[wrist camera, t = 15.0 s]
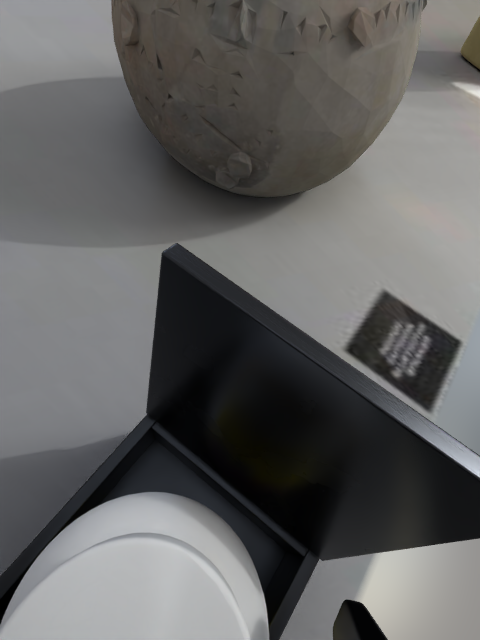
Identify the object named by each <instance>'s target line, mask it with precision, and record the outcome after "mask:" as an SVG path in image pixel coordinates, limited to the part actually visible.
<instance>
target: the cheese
mask: <svg viewBox="0 0 480 640" xmlns="http://www.w3.org/2000/svg"><path fill="white" fill-rule="evenodd" d="M461 54H462V56H463V57H464V58H466V59H467V60H468V61H469V62H470V63H472V64H473V65H474V66H476V67H477V68H478V69H480V16H479V18H478V20H477V22H476V23H475V25H474V27H473V29H472V31H471V32H470V34H469V36H468V38H467V39H466V41H465V43H464V45H463V46H462V49H461Z"/></svg>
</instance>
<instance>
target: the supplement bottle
mask: <svg viewBox="0 0 480 640" xmlns="http://www.w3.org/2000/svg"><path fill="white" fill-rule="evenodd" d="M0 640H269V628H268V617H267V609H266V603H265V598H264V594H263V590H262V587H261V583H260V580H259V577H258V574H257V571H256V569H255V566H254V564H253V561H252V559H251V557H250V555H249V553H248V551H247V550H246V548H245V546H244V544H243V543H242V541H241V540H240V538H239V537H238V536H237V534H236V533H235V532H234V531H233V529H232V528H231V527H230V526H229V525H228V524H227V523H226V522H225V521H224V520H223V519H222V518H221V517H220V516H218V515H217V514H216V513H215V512H213V511H212V510H210V509H209V508H207V507H206V506H204V505H202V504H200V503H199V502H197V501H194V500H192V499H189V498H187V497H184V496H180V495H176V494H171V493H165V492H144V493H136V494H130V495H126V496H122V497H119V498H116V499H113V500H110V501H107V502H105V503H103V504H101V505H99V506H97V507H95V508H93V509H91V510H90V511H88V512H87V513H85V514H83V515H82V516H80V517H79V518H77V519H76V520H75V521H73V522H72V523H71V524H69V525H68V526H67V527H66V528H65V529H64V530H63V531H61V532H60V533H59V534H58V535H57V536H56V537H55V538H54V539H53V540H52V541H51V542H50V543H49V544H48V545H47V547H46V548H45V549H44V550H43V551H42V552H41V554H40V555H39V556H38V557H37V559H36V560H35V561H34V563H33V564H32V565H31V567H30V568H29V570H28V571H27V572H26V574H25V576H24V577H23V579H22V581H21V582H20V584H19V586H18V587H17V589H16V591H15V593H14V595H13V597H12V599H11V601H10V603H9V605H8V607H7V610H6V612H5V614H4V617H3V619H2V622H1V624H0Z"/></svg>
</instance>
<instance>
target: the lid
mask: <svg viewBox="0 0 480 640" xmlns="http://www.w3.org/2000/svg"><path fill="white" fill-rule="evenodd" d="M146 413H147V414H148V415H149V416H150V417H152V418H153V419H154V420H155V421H156V422H158V423H159V424H160V425H161V426H162V427H164V428H165V429H166V430H167V431H168V432H169V433H171V434H172V435H173V436H174V437H175V438H177V439H178V440H179V441H180V442H181V443H183V444H184V445H185V446H186V447H187V448H189V449H190V450H191V451H192V452H193V453H194V454H196V455H197V456H198V457H199V458H200V459H202V460H203V461H204V462H205V463H206V464H208V465H209V466H210V467H211V468H212V469H214V470H215V471H216V472H217V473H218V474H219V475H221V476H222V477H223V478H224V479H225V480H227V481H228V482H229V483H230V484H231V485H233V486H234V487H235V488H236V489H237V490H239V491H240V492H241V493H242V494H243V495H244V496H246V497H247V498H248V499H249V500H250V501H252V502H253V503H254V504H255V505H256V506H258V507H259V508H260V509H261V510H262V511H264V512H265V513H266V514H267V515H268V516H269V517H271V518H272V519H273V520H274V521H275V522H277V523H278V524H279V525H280V526H281V527H283V528H284V529H285V530H286V531H287V532H289V533H290V534H291V535H292V536H293V537H294V538H296V539H297V540H298V541H299V542H300V543H302V544H303V545H304V546H305V547H306V548H308V549H309V550H310V551H311V552H312V553H314V554H315V555H316V556H317V557H318V558H319V559H321V560H322V561H324V560H331V559H338V558H345V557H352V556H359V555H366V554H373V553H380V552H387V551H394V550H401V549H408V548H415V547H422V546H429V545H435V544H443V543H450V542H457V541H464V540H471V539H478V538H480V456H479V455H478V454H476V453H475V452H474V451H472V450H471V449H469V448H468V447H467V446H465V445H464V444H462V443H461V442H459V441H458V440H457V439H455V438H454V437H452V436H451V435H449V434H448V433H447V432H445V431H444V430H442V429H441V428H440V427H438V426H437V425H435V424H434V423H432V422H431V421H430V420H428V419H427V418H425V417H424V416H422V415H421V414H420V413H418V412H417V411H415V410H414V409H413V408H411V407H410V406H408V405H407V404H405V403H404V402H403V401H401V400H400V399H398V398H397V397H395V396H394V395H393V394H391V393H390V392H388V391H387V390H385V389H384V388H383V387H381V386H380V385H378V384H377V383H376V382H374V381H373V380H371V379H370V378H368V377H367V376H366V375H364V374H363V373H361V372H360V371H358V370H357V369H356V368H354V367H353V366H351V365H350V364H349V363H347V362H346V361H344V360H343V359H341V358H340V357H339V356H337V355H336V354H334V353H333V352H331V351H330V350H329V349H327V348H326V347H324V346H323V345H321V344H320V343H319V342H317V341H316V340H314V339H313V338H312V337H310V336H309V335H307V334H306V333H304V332H303V331H302V330H300V329H299V328H297V327H296V326H294V325H293V324H292V323H290V322H289V321H287V320H286V319H285V318H283V317H282V316H280V315H279V314H277V313H276V312H275V311H273V310H272V309H270V308H269V307H267V306H266V305H265V304H263V303H262V302H260V301H259V300H257V299H256V298H255V297H253V296H252V295H250V294H249V293H248V292H246V291H245V290H243V289H242V288H240V287H239V286H238V285H236V284H235V283H233V282H232V281H230V280H229V279H228V278H226V277H225V276H223V275H222V274H221V273H219V272H218V271H216V270H215V269H213V268H212V267H211V266H209V265H208V264H206V263H205V262H203V261H202V260H201V259H199V258H198V257H196V256H195V255H194V254H192V253H191V252H189V251H188V250H186V249H185V248H184V247H182V246H181V245H179V244H178V243H176V244H174V245H172V246H171V247H169V248H168V249H166V250H165V251H163V253H162V257H161V267H160V278H159V288H158V298H157V308H156V318H155V328H154V338H153V348H152V359H151V369H150V379H149V389H148V399H147V409H146Z"/></svg>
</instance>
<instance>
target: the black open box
mask: <svg viewBox="0 0 480 640" xmlns="http://www.w3.org/2000/svg"><path fill="white" fill-rule="evenodd" d="M144 492H165V493H171V494H176V495H180V496H184V497H187V498H189V499H192V500H194V501H197V502H199V503H200V504H202V505H204V506H206V507H207V508H209V509H210V510H212V511H213V512H215V513H216V514H217V515H218V516H220V517H221V518H222V519H223V520H224V521H225V522H226V523H227V524H228V525H229V526H230V527H231V528H232V529H233V531H234V532H235V533H236V534H237V536H238V537H239V538H240V540H241V541H242V543H243V544H244V546H245V548H246V550H247V551H248V553H249V555H250V557H251V559H252V561H253V564H254V566H255V569H256V571H257V574H258V577H259V580H260V583H261V587H262V590H263V594H264V598H265V603H266V609H267V617H268V628H269V640H279V639H280V637H281V635H282V633H283V631H284V629H285V627H286V625H287V623H288V621H289V619H290V617H291V615H292V613H293V611H294V609H295V607H296V605H297V603H298V601H299V599H300V597H301V595H302V593H303V591H304V589H305V587H306V585H307V583H308V581H309V579H310V577H311V575H312V573H313V571H314V569H315V566H316V564H317V562H318V560H319V558H318V557H317V556H316V555H315V554H314V553H312V552H311V551H310V550H309V549H308V548H306V547H305V546H304V545H303V544H302V543H300V542H299V541H298V540H297V539H296V538H294V537H293V536H292V535H291V534H290V533H289V532H287V531H286V530H285V529H284V528H283V527H281V526H280V525H279V524H278V523H277V522H275V521H274V520H273V519H272V518H271V517H269V516H268V515H267V514H266V513H265V512H264V511H262V510H261V509H260V508H259V507H258V506H256V505H255V504H254V503H253V502H252V501H250V500H249V499H248V498H247V497H246V496H244V495H243V494H242V493H241V492H240V491H239V490H237V489H236V488H235V487H234V486H233V485H231V484H230V483H229V482H228V481H227V480H225V479H224V478H223V477H222V476H221V475H219V474H218V473H217V472H216V471H215V470H214V469H212V468H211V467H210V466H209V465H208V464H206V463H205V462H204V461H203V460H202V459H200V458H199V457H198V456H197V455H196V454H194V453H193V452H192V451H191V450H190V449H189V448H187V447H186V446H185V445H184V444H183V443H181V442H180V441H179V440H178V439H177V438H175V437H174V436H173V435H172V434H171V433H169V432H168V431H167V430H166V429H165V428H164V427H162V426H161V425H160V424H159V423H158V422H156V421H155V420H154V419H153V418H152V417H150V416H149V415H148V414H147V415H146V416H145V417H144V419H143V420H142V421H141V422H140V423H139V424H138V425H137V426H136V427H135V428H134V430H133V431H132V432H131V433H130V434H129V435H128V436H127V437H126V438H125V440H124V441H123V442H122V443H121V444H120V445H119V446H118V447H117V448H116V449H115V451H114V452H113V453H112V454H111V455H110V456H109V457H108V458H107V459H106V460H105V462H104V463H103V464H102V465H101V466H100V467H99V468H98V469H97V470H96V472H95V473H94V474H93V475H92V476H91V477H90V478H89V479H88V480H87V481H86V483H85V484H84V485H83V486H82V487H81V488H80V489H79V490H78V491H77V493H76V494H75V495H74V496H73V497H72V498H71V499H70V500H69V501H68V502H67V504H66V505H65V506H64V507H63V508H62V509H61V510H60V511H59V512H58V514H57V515H56V516H55V517H54V518H53V519H52V520H51V521H50V522H49V523H48V525H47V526H46V527H45V528H44V529H43V530H42V531H41V532H40V533H39V535H38V536H37V537H36V538H35V539H34V540H33V541H32V542H31V543H30V544H29V546H28V547H27V548H26V549H25V550H24V551H23V552H22V553H21V554H20V555H19V557H18V558H17V559H16V560H15V561H14V562H13V563H12V564H11V565H10V567H9V568H8V569H7V570H6V571H5V572H4V573H3V574H2V575H1V576H0V624H1V622H2V619H3V617H4V614H5V612H6V610H7V607H8V605H9V603H10V601H11V599H12V597H13V595H14V593H15V591H16V589H17V587H18V586H19V584H20V582H21V581H22V579H23V577H24V576H25V574H26V572H27V571H28V570H29V568H30V567H31V565H32V564H33V563H34V561H35V560H36V559H37V557H38V556H39V555H40V554H41V552H42V551H43V550H44V549H45V548H46V547H47V545H48V544H49V543H50V542H51V541H52V540H53V539H54V538H55V537H56V536H57V535H58V534H59V533H60V532H61V531H63V530H64V529H65V528H66V527H67V526H68V525H69V524H71V523H72V522H73V521H75V520H76V519H77V518H79V517H80V516H82V515H83V514H85V513H87V512H88V511H90V510H91V509H93V508H95V507H97V506H99V505H101V504H103V503H105V502H107V501H110V500H113V499H116V498H119V497H122V496H126V495H130V494H136V493H144Z"/></svg>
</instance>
